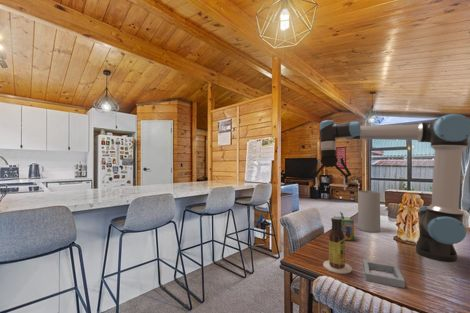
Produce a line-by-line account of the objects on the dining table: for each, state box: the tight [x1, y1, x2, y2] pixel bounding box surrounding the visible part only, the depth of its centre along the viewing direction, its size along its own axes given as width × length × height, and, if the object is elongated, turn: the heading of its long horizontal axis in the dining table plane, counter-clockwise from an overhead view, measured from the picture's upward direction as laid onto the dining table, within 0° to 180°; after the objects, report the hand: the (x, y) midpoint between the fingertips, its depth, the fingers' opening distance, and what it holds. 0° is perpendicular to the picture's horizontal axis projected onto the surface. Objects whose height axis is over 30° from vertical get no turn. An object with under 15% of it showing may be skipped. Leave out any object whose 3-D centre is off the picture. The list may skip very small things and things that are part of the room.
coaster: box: [322, 259, 353, 275], centre depth 96 cm, size 11×11×1 cm
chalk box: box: [337, 211, 355, 241], centre depth 135 cm, size 9×9×15 cm
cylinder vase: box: [357, 190, 381, 233], centre depth 151 cm, size 12×12×25 cm
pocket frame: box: [362, 259, 406, 289], centre depth 89 cm, size 12×13×2 cm
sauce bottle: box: [328, 216, 346, 268], centre depth 97 cm, size 7×6×20 cm
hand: (330, 189), depth 121 cm, fingers open, 13 cm apart
